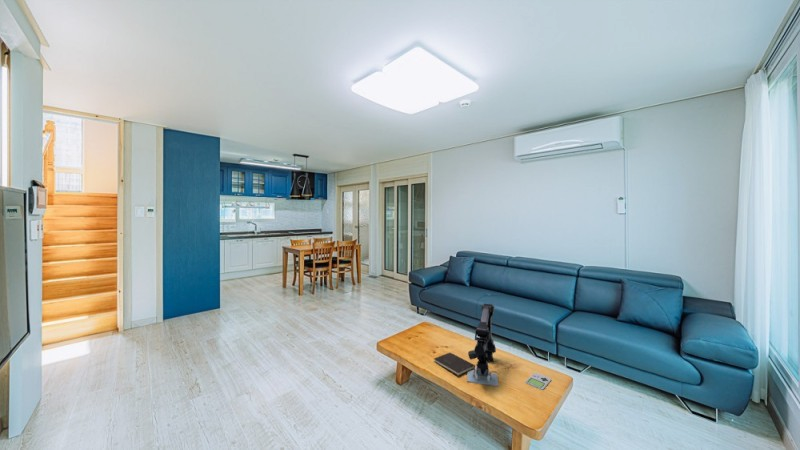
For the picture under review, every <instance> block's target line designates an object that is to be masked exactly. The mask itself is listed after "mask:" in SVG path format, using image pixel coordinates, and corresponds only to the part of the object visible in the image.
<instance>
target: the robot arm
mask: <svg viewBox="0 0 800 450" xmlns="http://www.w3.org/2000/svg"><path fill="white" fill-rule="evenodd" d="M480 307H481V308H480V311H481V316H480V318H481V319H480V323H478V324H477V327H476V329H475V334H474V335H475V336H474V341H476V345H475V347H474V349H472V350H469V351H468V352H467V354H468V358H469V360H474V359H476V360H478V361H477V363H476V364H477V368H479V369H480V370H481V374H482V375H484V373H485V371H486V369H489V363H488V362H491V363H492V362H493V363H494V355H493V354H494V353H496V351H497V349H496V345H495V344H496V343H495V342H494V339H493V338H492V317H493V315H494V313H495V310H496V307H495V306H494V304H492V303H483V304H481V306H480ZM494 343H495V344H494Z"/></svg>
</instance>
